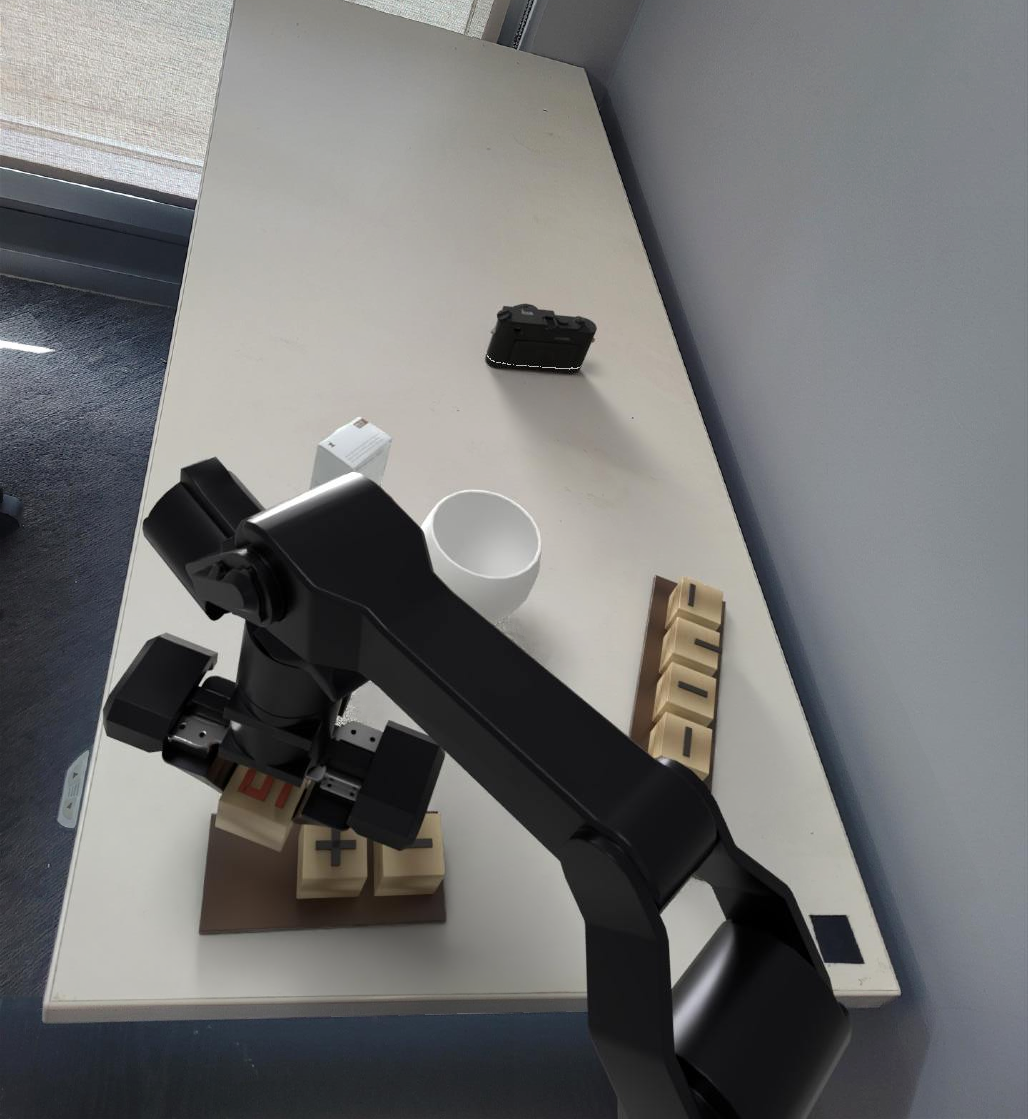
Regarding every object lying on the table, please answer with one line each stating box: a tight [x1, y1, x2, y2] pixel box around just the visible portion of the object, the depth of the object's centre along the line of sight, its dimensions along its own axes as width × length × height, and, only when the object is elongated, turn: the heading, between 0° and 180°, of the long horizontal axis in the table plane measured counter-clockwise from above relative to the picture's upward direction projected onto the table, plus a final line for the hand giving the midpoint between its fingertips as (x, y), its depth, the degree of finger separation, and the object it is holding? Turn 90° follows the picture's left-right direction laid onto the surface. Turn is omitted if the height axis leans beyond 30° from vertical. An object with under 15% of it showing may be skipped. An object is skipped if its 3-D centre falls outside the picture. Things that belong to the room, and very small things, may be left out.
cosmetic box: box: [308, 416, 393, 490], centre depth 85 cm, size 6×4×12 cm
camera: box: [484, 303, 598, 375], centre depth 117 cm, size 14×7×8 cm, turn 103°
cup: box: [420, 489, 543, 626], centre depth 79 cm, size 11×11×15 cm
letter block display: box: [627, 574, 727, 881], centre depth 84 cm, size 30×8×4 cm, turn 165°
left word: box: [198, 810, 447, 935], centre depth 65 cm, size 17×8×4 cm, turn 97°
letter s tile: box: [215, 764, 315, 852], centre depth 57 cm, size 4×4×4 cm
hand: (264, 802), depth 58 cm, fingers closed on letter s tile, 4 cm apart
